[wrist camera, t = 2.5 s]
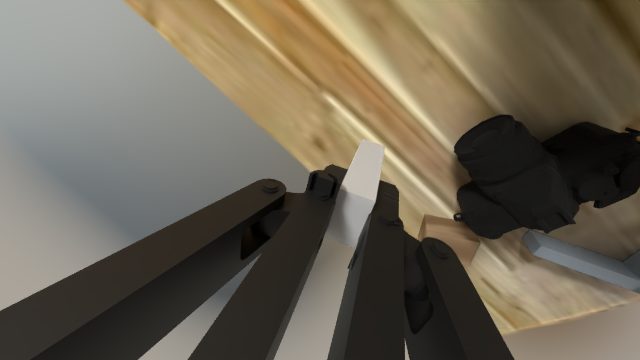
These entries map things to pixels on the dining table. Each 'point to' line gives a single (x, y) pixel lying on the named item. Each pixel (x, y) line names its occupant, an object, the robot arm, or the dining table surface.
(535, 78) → the dining table surface
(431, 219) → the oak chock block
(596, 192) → the film camera
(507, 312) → the dining table surface
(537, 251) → the bay
